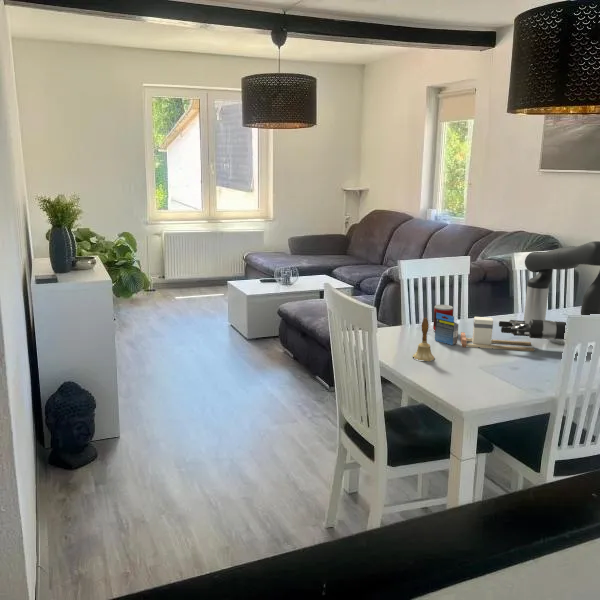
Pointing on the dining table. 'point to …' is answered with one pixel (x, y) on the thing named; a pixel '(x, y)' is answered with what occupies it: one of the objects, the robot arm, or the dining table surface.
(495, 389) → the dining table surface
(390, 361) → the dining table surface
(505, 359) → the dining table surface
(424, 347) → the hand bell
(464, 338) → the wooden rail channel
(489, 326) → the block
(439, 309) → the canned food
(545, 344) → the dining table surface
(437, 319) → the label tape cartridge
